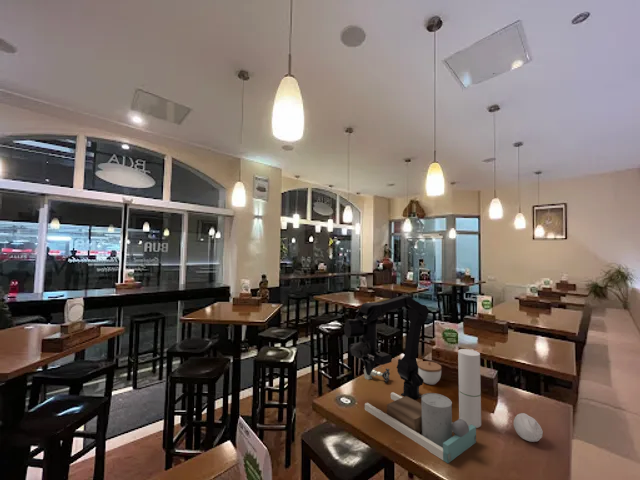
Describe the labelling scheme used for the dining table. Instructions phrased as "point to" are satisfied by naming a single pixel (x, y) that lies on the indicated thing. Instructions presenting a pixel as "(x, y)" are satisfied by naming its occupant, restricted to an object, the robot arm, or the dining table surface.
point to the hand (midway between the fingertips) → (368, 374)
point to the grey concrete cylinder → (436, 418)
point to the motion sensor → (527, 427)
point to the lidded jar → (429, 372)
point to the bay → (451, 447)
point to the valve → (374, 373)
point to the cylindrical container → (469, 387)
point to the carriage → (406, 412)
